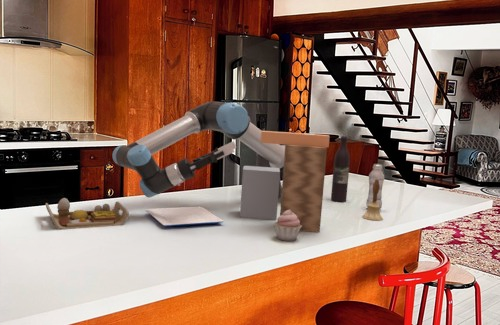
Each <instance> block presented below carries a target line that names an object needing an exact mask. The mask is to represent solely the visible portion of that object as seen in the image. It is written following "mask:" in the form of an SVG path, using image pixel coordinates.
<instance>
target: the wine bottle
mask: <svg viewBox="0 0 500 325" xmlns="http://www.w3.org/2000/svg"><path fill="white" fill-rule="evenodd" d="M347 141H348V136H345V135H342V136H341V137H340V146H339V147H338V150H337V151H336V153H335V155H334V160H333V170H332V171H333V172H332V181H331V194H330V200H331V201H333V202H336V203H345V202H347V198H348V196H347V195H348V186H349V185H348V184H349V175H350V174H349V173H350V166H351V165H350V164H351V162H350V161H351V156H350V152H349V150H348V147H347Z"/></svg>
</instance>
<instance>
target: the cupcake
mask: <svg viewBox="0 0 500 325" xmlns="http://www.w3.org/2000/svg"><path fill="white" fill-rule="evenodd" d="M273 226H274V227H275V231H276V238H277V239H278V240H280V241H284V242H293V241H296V240H297V238H298V234H299V230H300V228H301V227H302V225H300V221H299V219H298V217H297V216H296V215H295V214H294V213H293V212H291V210H287V211H285V212H284V213H283V214H282V215H281V216H280V215H279V216H278V217H277V220H276V221H275V223H273Z"/></svg>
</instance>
